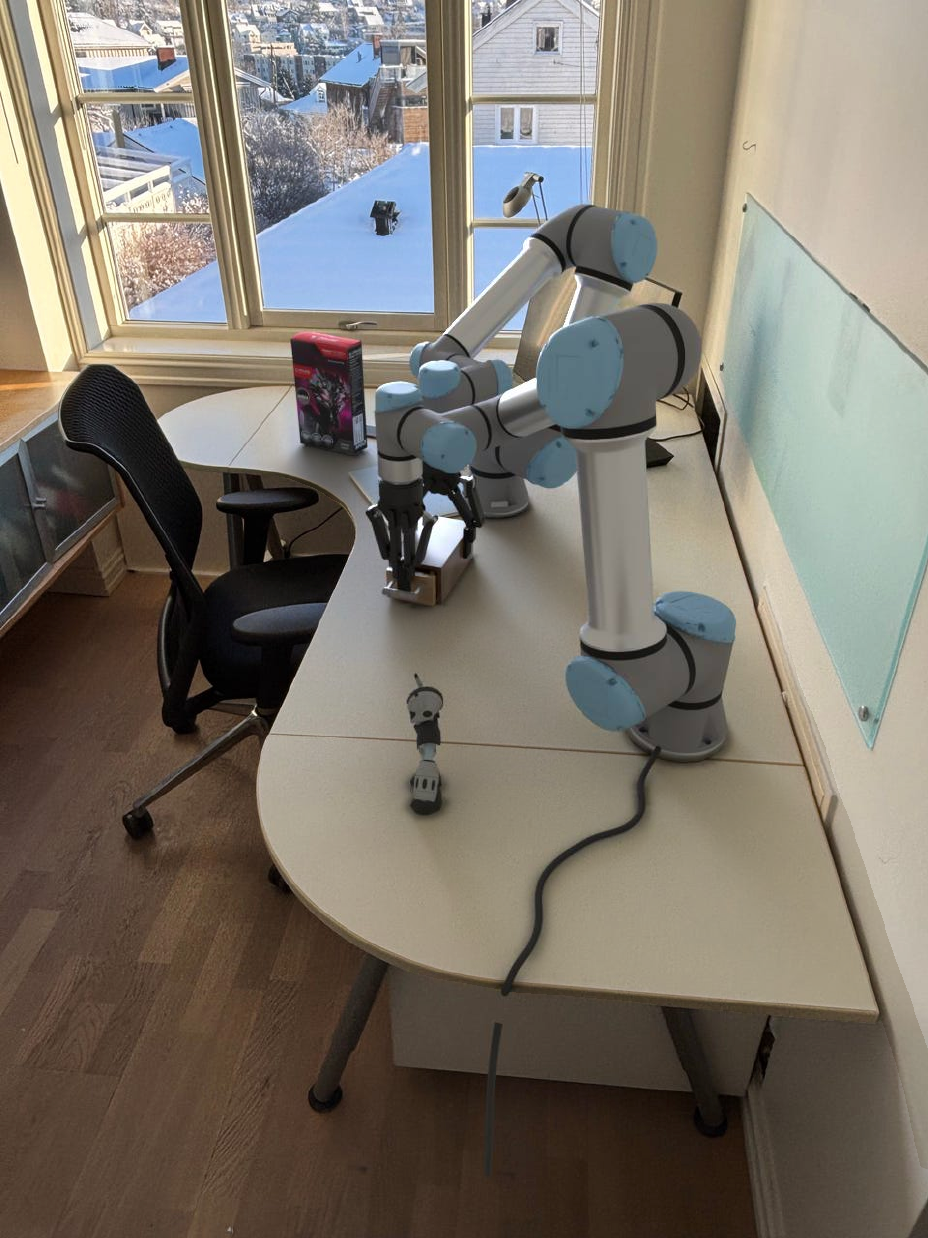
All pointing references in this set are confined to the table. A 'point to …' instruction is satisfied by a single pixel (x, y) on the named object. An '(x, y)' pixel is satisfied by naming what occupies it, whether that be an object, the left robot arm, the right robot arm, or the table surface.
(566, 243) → the left robot arm
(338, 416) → the graphics card box
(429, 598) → the drawer
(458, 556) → the cabinet
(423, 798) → the robot
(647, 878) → the table surface
